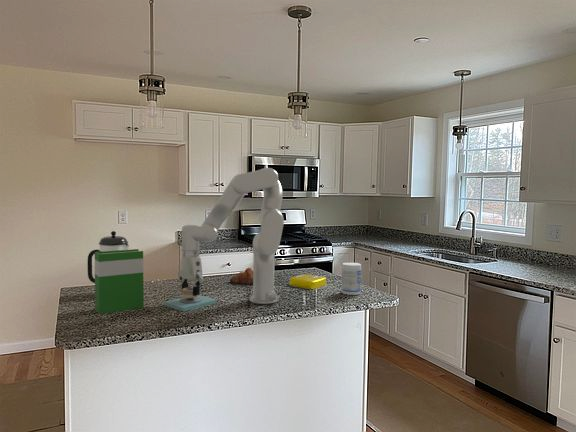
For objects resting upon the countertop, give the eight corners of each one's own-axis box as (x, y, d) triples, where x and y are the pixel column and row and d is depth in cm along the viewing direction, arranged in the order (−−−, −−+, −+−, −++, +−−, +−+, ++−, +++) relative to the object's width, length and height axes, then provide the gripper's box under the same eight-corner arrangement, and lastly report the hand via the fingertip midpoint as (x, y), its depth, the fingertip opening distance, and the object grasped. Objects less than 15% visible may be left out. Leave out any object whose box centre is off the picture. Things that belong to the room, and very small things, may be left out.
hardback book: (138, 303, 194) (137, 249, 192) (143, 307, 188) (143, 251, 186) (95, 309, 184) (94, 252, 182) (99, 313, 178) (98, 254, 176)
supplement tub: (361, 296, 213) (362, 265, 213) (341, 295, 214) (342, 265, 213) (360, 291, 223) (360, 262, 222) (341, 290, 224) (341, 261, 223)
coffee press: (124, 288, 221) (124, 228, 219) (134, 295, 208) (134, 231, 206) (87, 293, 211) (86, 230, 209) (95, 300, 198) (94, 233, 196)
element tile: (304, 281, 246) (304, 272, 246) (327, 285, 238) (327, 276, 237) (288, 286, 234) (288, 277, 234) (311, 290, 226) (312, 281, 225)
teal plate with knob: (216, 303, 197) (216, 285, 196) (183, 311, 183) (183, 292, 182) (196, 297, 205) (196, 280, 205) (163, 305, 191) (163, 287, 191)
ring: (201, 295, 194) (201, 288, 194) (189, 298, 189) (189, 291, 189) (191, 293, 199) (191, 286, 198) (178, 295, 193) (178, 289, 193)
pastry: (251, 278, 251) (252, 264, 251) (271, 282, 241) (271, 268, 241) (229, 282, 239) (229, 268, 239) (248, 287, 229) (248, 272, 228)
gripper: (210, 254, 190) (210, 295, 191) (185, 250, 201) (185, 289, 202) (196, 256, 184) (196, 298, 185) (171, 252, 195) (171, 292, 196)
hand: (190, 293), depth 194 cm, fingers closed on ring, 7 cm apart
